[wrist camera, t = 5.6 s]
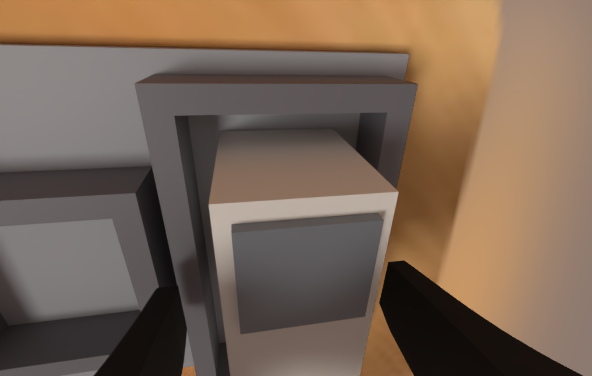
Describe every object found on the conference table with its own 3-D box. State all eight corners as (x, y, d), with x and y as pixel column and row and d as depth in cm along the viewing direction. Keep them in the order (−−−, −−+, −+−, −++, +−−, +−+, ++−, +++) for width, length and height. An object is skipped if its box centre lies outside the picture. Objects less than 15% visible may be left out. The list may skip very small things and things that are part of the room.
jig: (350, 325, 18) (369, 375, 15) (29, 372, 15) (-15, 444, 12) (395, 52, 11) (445, 58, 8) (-185, 39, 8) (-389, 41, 5)
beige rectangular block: (316, 316, 15) (351, 438, 11) (238, 327, 15) (240, 462, 10) (332, 128, 11) (405, 198, 6) (220, 131, 10) (207, 212, 5)
